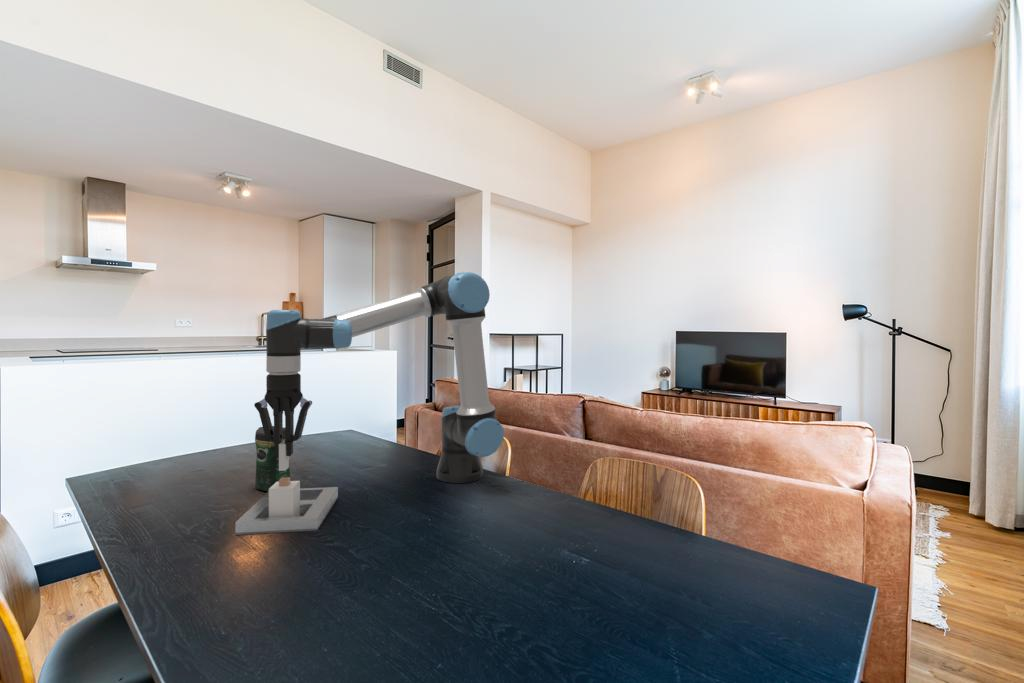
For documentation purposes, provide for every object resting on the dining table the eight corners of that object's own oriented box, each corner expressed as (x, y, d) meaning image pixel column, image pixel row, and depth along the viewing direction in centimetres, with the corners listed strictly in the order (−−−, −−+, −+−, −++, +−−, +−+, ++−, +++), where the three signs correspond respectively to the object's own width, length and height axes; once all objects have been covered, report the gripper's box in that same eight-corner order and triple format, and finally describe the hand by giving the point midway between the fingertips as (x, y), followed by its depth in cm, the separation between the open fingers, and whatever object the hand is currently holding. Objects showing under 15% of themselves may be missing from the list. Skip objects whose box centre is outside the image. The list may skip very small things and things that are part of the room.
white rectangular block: (300, 515, 118) (299, 474, 117) (293, 525, 112) (292, 481, 112) (277, 517, 117) (276, 475, 117) (268, 526, 111) (268, 482, 111)
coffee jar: (295, 486, 141) (295, 425, 141) (271, 494, 134) (271, 430, 134) (274, 481, 146) (274, 422, 145) (250, 489, 139) (250, 427, 138)
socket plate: (337, 497, 132) (337, 486, 132) (317, 530, 110) (317, 518, 110) (270, 500, 129) (270, 489, 129) (235, 535, 108) (235, 522, 108)
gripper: (316, 371, 118) (316, 463, 119) (261, 371, 116) (261, 465, 117) (307, 374, 111) (307, 472, 111) (248, 374, 109) (249, 474, 109)
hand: (284, 469), depth 114 cm, fingers closed
